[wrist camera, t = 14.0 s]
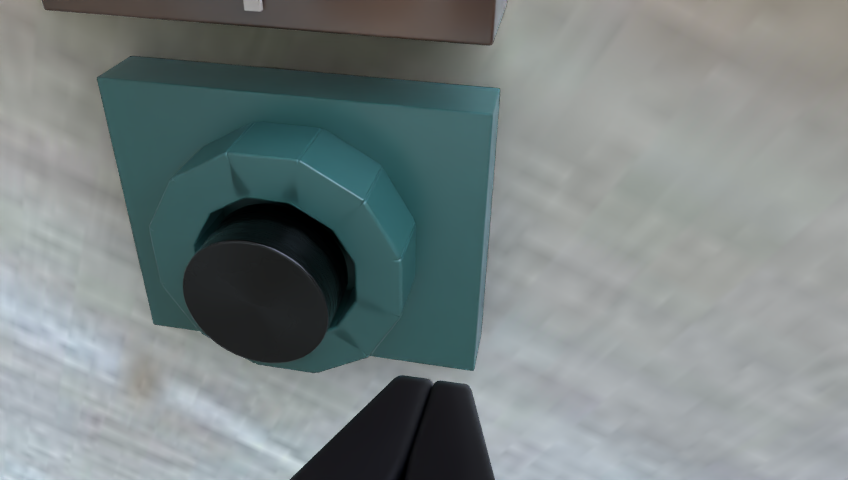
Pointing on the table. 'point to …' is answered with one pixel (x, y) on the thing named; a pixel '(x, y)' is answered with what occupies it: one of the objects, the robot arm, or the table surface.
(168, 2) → the dial panel
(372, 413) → the robot arm
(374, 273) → the button box
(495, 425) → the table surface
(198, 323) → the button
